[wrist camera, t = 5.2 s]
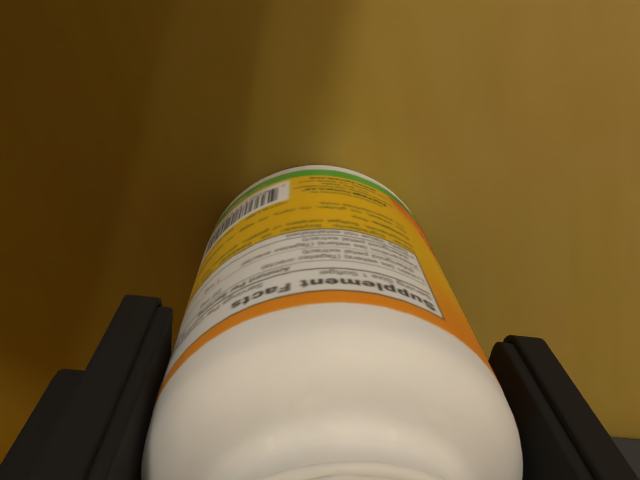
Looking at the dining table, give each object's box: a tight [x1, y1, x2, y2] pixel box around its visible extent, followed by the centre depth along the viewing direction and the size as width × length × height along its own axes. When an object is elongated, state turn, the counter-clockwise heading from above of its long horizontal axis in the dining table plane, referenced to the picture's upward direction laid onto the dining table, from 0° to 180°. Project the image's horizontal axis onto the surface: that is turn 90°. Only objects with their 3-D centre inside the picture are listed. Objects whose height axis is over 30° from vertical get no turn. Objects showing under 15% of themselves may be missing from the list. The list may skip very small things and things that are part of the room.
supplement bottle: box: [141, 165, 523, 480], centre depth 10 cm, size 5×5×10 cm
